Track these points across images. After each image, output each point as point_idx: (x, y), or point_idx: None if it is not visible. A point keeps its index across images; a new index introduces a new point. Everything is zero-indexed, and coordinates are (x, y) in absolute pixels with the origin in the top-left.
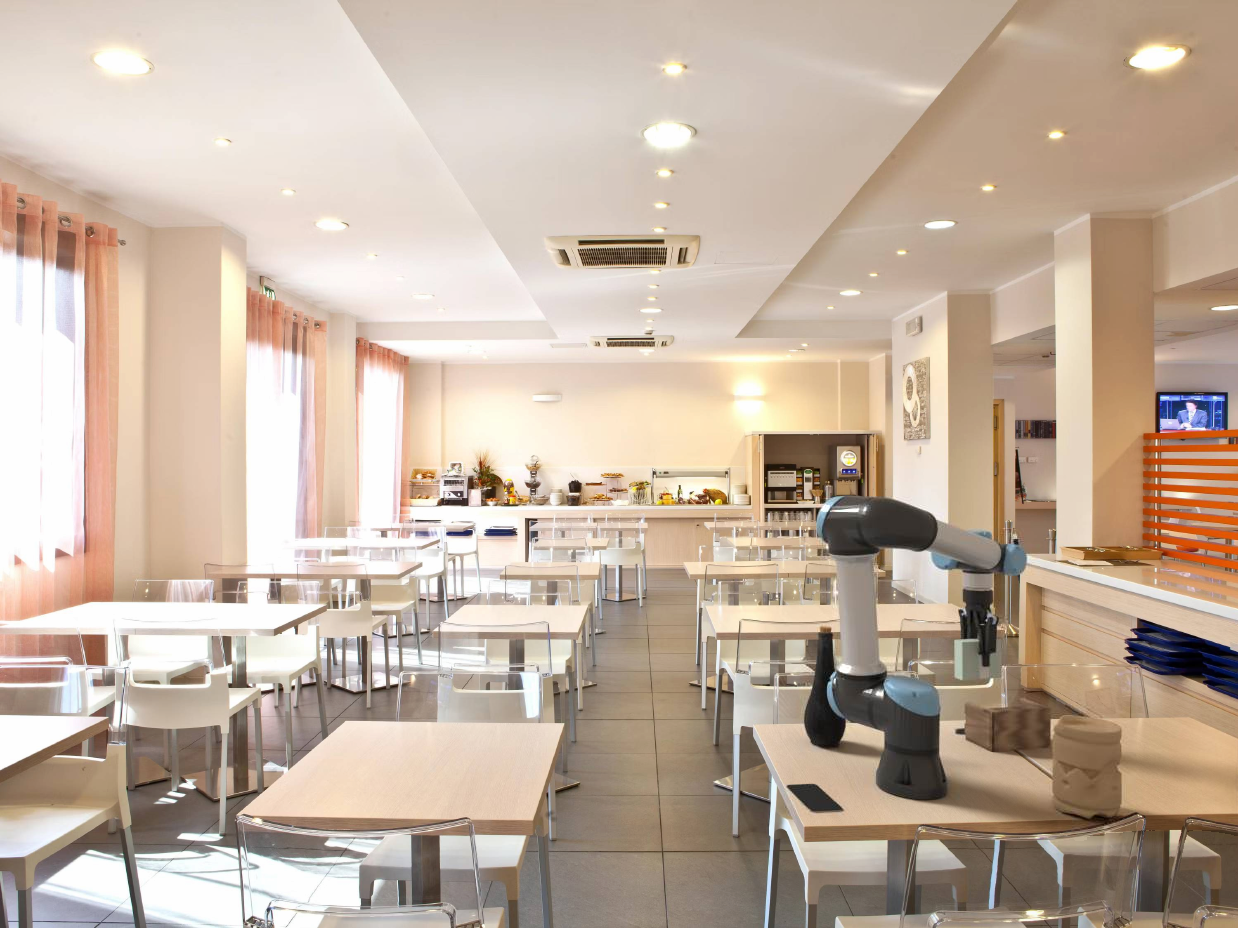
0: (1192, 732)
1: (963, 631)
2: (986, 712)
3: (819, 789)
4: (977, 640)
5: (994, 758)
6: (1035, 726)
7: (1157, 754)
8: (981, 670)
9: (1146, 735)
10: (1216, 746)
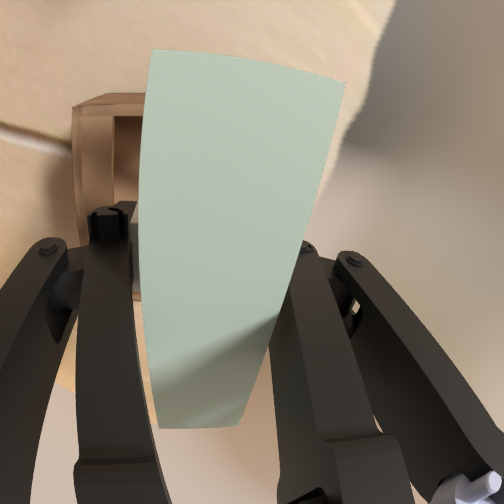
0: (150, 414)
1: (401, 338)
2: (99, 104)
3: None
4: (186, 318)
5: (69, 69)
6: None
7: (69, 348)
8: None
9: (146, 385)
10: None
